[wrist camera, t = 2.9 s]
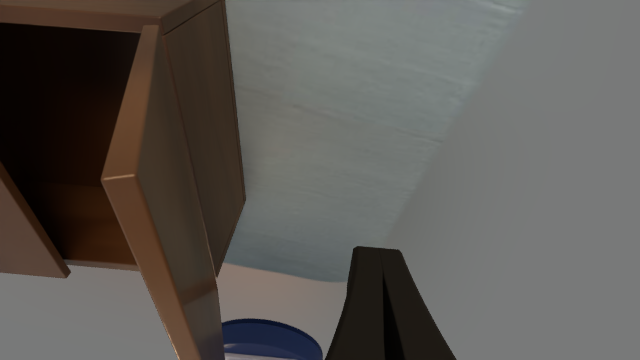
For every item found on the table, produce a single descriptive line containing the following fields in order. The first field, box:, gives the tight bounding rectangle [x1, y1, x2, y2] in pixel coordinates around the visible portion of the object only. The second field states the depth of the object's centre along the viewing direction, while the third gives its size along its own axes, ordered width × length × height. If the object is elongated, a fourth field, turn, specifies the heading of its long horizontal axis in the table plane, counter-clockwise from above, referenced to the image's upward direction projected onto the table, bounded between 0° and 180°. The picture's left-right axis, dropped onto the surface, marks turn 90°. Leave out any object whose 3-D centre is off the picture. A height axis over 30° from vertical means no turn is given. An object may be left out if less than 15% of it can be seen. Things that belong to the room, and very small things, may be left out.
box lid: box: [101, 25, 225, 360], centre depth 10 cm, size 7×12×1 cm
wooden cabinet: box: [0, 0, 246, 278], centre depth 15 cm, size 14×12×7 cm
